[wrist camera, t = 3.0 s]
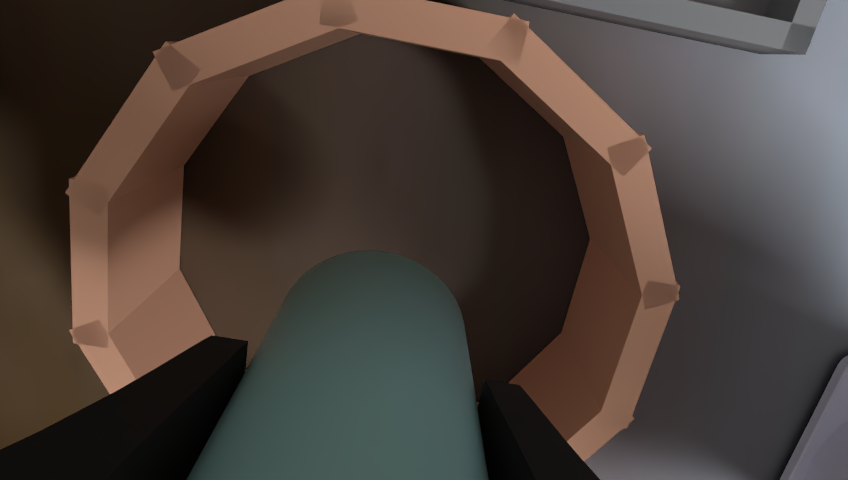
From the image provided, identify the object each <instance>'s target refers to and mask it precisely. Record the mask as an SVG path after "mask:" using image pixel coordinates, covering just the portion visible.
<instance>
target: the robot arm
mask: <svg viewBox="0 0 848 480" xmlns="http://www.w3.org/2000/svg"><path fill="white" fill-rule="evenodd" d="M247 346H248V341H243V340H237V339H231V338H225V337H219V336H212V335H211V336H209V337H207V338H206V339H204V340H202V341H200V342H199V343H197V344H195V345H193V346H192V347H190V348H188V349H187V350H185V351H183V352H182V353H180V354H178V355H177V356H175V357H174V358H172V359H170V360H169V361H167V362H165V363H164V364H162V365H160V366H159V367H157V368H155V369H153V370H152V371H150V372H148V373H147V374H145V375H143V376H141V377H140V378H138V379H136V380H134V381H133V382H131V383H129V384H128V385H126V386H124V387H122V388H121V389H119V390H117V391H115V392H114V393H112V394H110V395H108V396H106V397H104V398H103V399H101V400H99V401H97V402H95V403H93V404H91V405H89V406H87V407H85V408H83V409H81V410H80V411H78V412H76V413H74V414H72V415H70V416H68V417H66V418H64V419H62V420H60V421H59V422H57V423H55V424H53V425H51V426H49V427H47V428H45V429H43V430H41V431H39V432H37V433H35V434H33V435H31V436H29V437H27V438H25V439H23V440H20V441H18V442H16V443H14V444H12V445H10V446H7V447H5V448H3V449H1V450H0V480H187V478H188V476H189V474H190V472H191V470H192V469H193V467H194V465H195V463H196V461H197V459H198V458H199V456H200V454H201V452H202V450H203V448H204V447H205V445H206V443H207V441H208V439H209V437H210V436H211V434H212V432H213V430H214V428H215V427H216V425H217V423H218V421H219V419H220V417H221V416H222V414H223V412H224V410H225V408H226V406H227V405H228V403H229V401H230V399H231V397H232V395H233V394H234V392H235V390H236V388H237V386H238V384H239V383H240V381H241V379H242V377H243V375H244V373H245V367H246V357H247ZM478 414H479V420H480V427H481V433H482V439H483V446H484V452H485V458H486V465H487V471H488V477H489V480H600V479H599V478H598V477H597V476H596V475H595V474H594V473H593V471H592V470H591V469H590V468H589V467H588V466H587V465H586V463H585V462H584V461H583V460H582V459H581V458H580V456H579V455H578V454H577V453H576V452H575V451H574V450H573V448H572V447H571V446H570V445H569V444H568V442H567V441H566V440H565V439H564V438H563V436H562V435H561V434H560V433H559V432H558V430H557V429H556V428H555V427H554V426H553V424H552V423H551V422H550V421H549V419H548V418H547V417H546V416H545V415H544V413H543V412H542V411H541V410H540V408H539V407H538V406H537V405H536V404H535V402H534V401H533V400H532V399H531V398H530V396H529V395H528V394H527V393H526V392H525V391H524V389H523V388H522V387H521V386H520V385H516V384H510V383H504V382H498V381H492V380H485V381H484V385H483V389H482V393H481V396H480V400H479V404H478ZM780 480H848V356H846V357H844V358H843V359H842V360H841V361H840V362H839V364H838V365H837V367H836V369H835V371H834V373H833V375H832V377H831V379H830V381H829V383H828V385H827V387H826V389H825V391H824V393H823V395H822V397H821V399H820V401H819V403H818V405H817V407H816V409H815V411H814V413H813V415H812V417H811V419H810V421H809V423H808V425H807V426H806V428H805V430H804V432H803V434H802V436H801V438H800V440H799V442H798V444H797V446H796V448H795V450H794V452H793V454H792V456H791V458H790V460H789V462H788V464H787V466H786V468H785V470H784V472H783V474H782V476H781V478H780Z"/></svg>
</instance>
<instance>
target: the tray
mask: <svg viewBox="0 0 848 480" xmlns="http://www.w3.org/2000/svg"><path fill="white" fill-rule="evenodd" d="M505 1H510V2H515V3H519V4H524V5H529V6H534V7H538V8H543V9H548V10H553V11H557V12H562V13H567V14H572V15H577V16H581V17H586V18H591V19H596V20H600V21H605V22H610V23H615V24H620V25H624V26H629V27H634V28H639V29H643V30H648V31H653V32H658V33H662V34H667V35H672V36H677V37H682V38H686V39H691V40H696V41H701V42H705V43H710V44H715V45H720V46H724V47H729V48H734V49H739V50H744V51H748V52H753V53H758V54H806V52H807V49H808V47H809V44H810V41H811V39H812V36H813V34H814V31H815V29H816V26H817V24H818V21H819V19H820V16H821V14H822V11H823V9H824V6H825V4H826V1H827V0H505Z"/></svg>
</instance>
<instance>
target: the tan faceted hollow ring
mask: <svg viewBox="0 0 848 480" xmlns="http://www.w3.org/2000/svg"><path fill="white" fill-rule="evenodd" d="M358 34H363V35H368V36H373V37H378V38H383V39H388V40H393V41H398V42H403V43H408V44H413V45H418V46H423V47H428V48H433V49H438V50H443V51H448V52H453V53H458V54H463V55H468V56H472V57H477V58H480V59H481V60H482V61H483V62H484V63H485V64H486V65H487V66H488V67H489V68H491V69H492V70H493V71H494V72H495V73H496V74H497V75H498V76H499V77H500V78H501V79H502V80H503V81H504V82H506V83H507V84H508V85H509V86H510V87H511V88H512V89H513V90H514V91H515V92H516V93H517V94H518V95H519V96H520V97H522V98H523V99H524V100H525V101H526V102H527V103H528V104H529V105H530V106H531V107H532V108H533V109H534V110H535V111H536V112H538V113H539V114H540V115H541V116H542V117H543V118H544V119H545V120H546V121H547V122H548V123H549V124H550V125H551V126H553V127H554V128H555V129H556V130H557V131H558V132H559V133H560V134H561V135H562V136H563V137H564V141H565V145H566V149H567V152H568V156H569V160H570V164H571V168H572V172H573V175H574V179H575V183H576V187H577V191H578V194H579V198H580V202H581V206H582V210H583V213H584V217H585V221H586V225H587V229H588V233H589V236H590V241H589V244H588V247H587V250H586V254H585V257H584V260H583V263H582V267H581V270H580V273H579V276H578V280H577V283H576V286H575V289H574V293H573V296H572V299H571V303H570V306H569V309H568V312H567V316H566V319H565V322H564V325H563V329H562V332H561V333H560V334H559V335H558V336H557V337H556V338H555V339H554V340H553V341H552V342H551V343H550V344H549V345H548V346H546V347H545V348H544V349H543V350H542V351H541V352H540V353H539V354H538V355H537V356H536V357H535V358H534V359H533V360H532V361H531V362H530V363H528V364H527V365H526V366H525V367H524V368H523V369H522V370H521V371H520V372H519V373H518V374H517V375H516V376H515V377H514V378H513V379H512V380H510V381H509V382H508V383H510V384H516V385H520V386H521V387H522V388H523V389H524V391H525V392H526V393H527V394H528V395H529V396H530V398H531V399H532V400H533V401H534V402H535V404H536V405H537V406H538V407H539V408H540V410H541V411H542V412H543V413H544V415H545V416H546V417H547V418H548V419H549V421H550V422H551V423H552V424H553V426H554V427H555V428H556V429H557V430H558V432H559V433H560V434H561V435H562V436H563V438H564V439H565V440H566V441H567V442H568V444H569V445H570V446H571V447H572V448H573V450H574V451H575V452H576V453H577V454H578V455H579V456H580V458H581V459H582V460H583V461H585V460H587V459H588V458H589V457H590V456H591V455H592V454H594V453H595V452H596V451H597V450H598V449H600V448H601V447H602V446H603V445H604V444H605V443H607V442H608V441H609V440H610V439H611V438H612V437H614V436H615V435H616V434H617V433H618V432H619V431H621V430H622V429H623V428H624V429H627V428H628V425H629V423H630V422H631V421H632V420H634V419H635V418H634V417H633V412H634V409H635V407H636V404H637V401H638V399H639V396H640V393H641V391H642V388H643V385H644V383H645V380H646V377H647V375H648V372H649V369H650V367H651V364H652V361H653V359H654V356H655V353H656V351H657V348H658V345H659V343H660V340H661V338H662V335H663V332H664V330H665V327H666V324H667V322H668V319H669V316H670V314H671V311H672V308H673V306H674V303H675V301H677V300H680V299H679V294H678V292H679V290H680V287H681V286H680V285H679V284H678V283H677V282H676V280H675V276H674V271H673V266H672V261H671V257H670V252H669V247H668V243H667V238H666V233H665V228H664V224H663V219H662V214H661V210H660V205H659V200H658V196H657V191H656V186H655V181H654V177H653V172H652V167H651V163H650V158H649V153H648V152H649V151H650V150H651V149H652V148H651V147H650V146H649V145H648V144H647V143H646V139H645V135H644V134H641V133H639V132H636V131H634V130H633V129H632V128H631V127H630V126H629V125H628V124H627V123H626V122H624V121H623V120H622V119H621V118H620V117H619V116H618V115H617V114H616V113H615V112H614V111H613V110H612V109H611V108H610V107H609V106H608V105H607V104H606V103H605V102H604V101H603V100H602V99H601V98H600V97H599V96H598V95H597V94H596V93H595V92H594V91H593V90H592V89H591V88H590V87H589V86H588V85H587V84H586V83H585V82H584V81H583V80H582V79H581V78H580V77H579V76H578V75H577V74H576V73H574V72H573V71H572V70H571V69H570V68H569V67H568V66H567V65H566V64H565V63H564V62H563V61H562V60H561V59H560V58H559V57H558V56H557V55H556V54H555V53H554V52H553V51H552V50H551V49H550V48H549V47H548V46H547V45H546V44H545V43H544V42H543V41H542V40H541V39H540V38H539V37H538V36H537V35H536V34H535V33H534V32H533V31H532V30H531V29H530V28H529V21H524V20H520V19H519V18H518V17H517V16H516V15H515V14H511V15H509V16H506V17H505V16H500V15H495V14H490V13H485V12H480V11H476V10H471V9H466V8H461V7H456V6H452V5H447V4H442V3H437V2H432V1H427V0H284V1H281V2H279V3H276V4H273V5H271V6H268V7H266V8H263V9H261V10H258V11H256V12H253V13H250V14H248V15H245V16H243V17H240V18H238V19H235V20H233V21H230V22H227V23H225V24H222V25H220V26H217V27H215V28H212V29H209V30H207V31H204V32H202V33H199V34H197V35H194V36H192V37H189V38H186V39H184V40H181V41H179V42H173V41H165V43H164V44H163V46H162V47H161V49H158V50H156V51H153V53H154V55H155V58H154V60H153V61H152V63H151V64H150V66H149V67H148V69H147V70H146V72H145V73H144V75H143V76H142V78H141V79H140V81H139V82H138V84H137V85H136V87H135V88H134V90H133V91H132V93H131V94H130V96H129V97H128V99H127V100H126V102H125V103H124V105H123V106H122V108H121V109H120V111H119V112H118V114H117V115H116V117H115V118H114V120H113V121H112V123H111V124H110V126H109V127H108V129H107V130H106V132H105V133H104V135H103V136H102V138H101V139H100V141H99V142H98V144H97V145H96V147H95V148H94V150H93V151H92V153H91V154H90V156H89V157H88V159H87V160H86V162H85V163H84V165H83V166H82V168H81V169H80V171H79V172H78V174H77V175H76V176H75V177H72V178H69V187H68V189H67V190H66V192H65V193H66V194H67V195H69V204H70V242H71V281H72V319H73V327H72V328H71V329H69V331H70V333H71V334H72V336H73V343H77V344H78V345H79V347H80V348H81V350H82V351H83V353H84V354H85V356H86V358H87V359H88V361H89V362H90V364H91V365H92V367H93V368H94V370H95V372H96V373H97V375H98V376H99V378H100V379H101V381H102V383H103V384H104V386H105V387H106V389H107V390H108V392H109V394H112V393H114V392H115V391H117V390H119V389H121V388H122V387H124V386H126V385H128V384H129V383H131V382H133V381H134V380H136V379H138V378H140V377H141V376H143V375H145V374H147V373H148V372H150V371H152V370H153V369H155V368H157V367H159V366H160V365H162V364H164V363H165V362H167V361H169V360H170V359H172V358H174V357H175V356H177V355H178V354H180V353H182V352H183V351H185V350H187V349H188V348H190V347H192V346H193V345H195V344H197V343H199V342H200V341H202V340H204V339H206V338H207V337H209V336H211V335H212V336H215V334H214V332H213V330H212V328H211V326H210V325H209V323H208V321H207V319H206V317H205V315H204V313H203V312H202V310H201V308H200V306H199V304H198V302H197V300H196V299H195V297H194V295H193V293H192V291H191V289H190V288H189V286H188V284H187V282H186V280H185V278H184V276H183V275H182V273H181V271H180V269H179V265H180V243H181V220H182V198H183V176H184V165H185V163H186V162H187V161H188V159H189V158H190V157H191V155H192V154H193V152H194V151H195V150H196V148H197V147H198V145H199V144H200V143H201V141H202V140H203V139H204V137H205V136H206V134H207V133H208V132H209V130H210V129H211V128H212V126H213V125H214V123H215V122H216V121H217V119H218V118H219V116H220V115H221V114H222V112H223V111H224V110H225V108H226V107H227V105H228V104H229V103H230V101H231V100H232V99H233V97H234V96H235V94H236V93H237V92H238V90H239V89H240V88H241V86H242V85H243V83H244V82H245V81H246V79H247V78H248V76H250V75H253V74H255V73H258V72H261V71H263V70H266V69H269V68H271V67H274V66H277V65H279V64H282V63H284V62H287V61H290V60H292V59H295V58H298V57H300V56H303V55H306V54H308V53H311V52H314V51H316V50H319V49H321V48H324V47H327V46H329V45H332V44H335V43H337V42H340V41H343V40H345V39H348V38H351V37H353V36H356V35H358ZM245 372H246V369H245ZM478 404H479V402H477V408H478Z"/></svg>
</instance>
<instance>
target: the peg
mask: <svg viewBox="0 0 848 480" xmlns="http://www.w3.org/2000/svg"><path fill="white" fill-rule="evenodd" d="M187 480H489V477H488V471H487V465H486V458H485V452H484V446H483V439H482V433H481V427H480V420H479V414H478V408H477V402H476V395H475V389H474V383H473V376H472V370H471V364H470V357H469V351H468V345H467V339H466V332H465V326H464V320H463V317H462V313H461V310H460V308H459V305H458V303H457V301H456V299H455V297H454V296H453V294H452V293H451V291H450V290H449V288H448V287H447V286H446V285H445V284H444V282H443V281H442V280H441V279H440V278H439V277H437V276H436V275H435V274H434V273H433V272H432V271H430V270H429V269H427V268H426V267H424V266H423V265H421V264H419V263H417V262H415V261H413V260H412V259H409V258H406V257H403V256H401V255H397V254H393V253H389V252H382V251H356V252H348V253H345V254H341V255H337V256H334V257H332V258H329V259H327V260H324V261H323V262H321V263H319V264H317V265H316V266H314V267H313V268H311V269H310V270H309V271H307V272H306V273H305V274H304V275H303V276H302V277H301V278H300V279H299V280H298V281H297V282H296V283H295V284H294V286H293V287H292V288H291V290H290V291H289V293H288V295H287V297H286V298H285V300H284V302H283V304H282V306H281V307H280V309H279V311H278V313H277V315H276V317H275V318H274V320H273V322H272V324H271V326H270V328H269V329H268V331H267V333H266V335H265V337H264V339H263V340H262V342H261V344H260V346H259V348H258V350H257V351H256V353H255V355H254V357H253V359H252V361H251V362H250V364H249V366H248V368H247V370H246V372H245V373H244V375H243V377H242V379H241V381H240V383H239V384H238V386H237V388H236V390H235V392H234V394H233V395H232V397H231V399H230V401H229V403H228V405H227V406H226V408H225V410H224V412H223V414H222V416H221V417H220V419H219V421H218V423H217V425H216V427H215V428H214V430H213V432H212V434H211V436H210V437H209V439H208V441H207V443H206V445H205V447H204V448H203V450H202V452H201V454H200V456H199V458H198V459H197V461H196V463H195V465H194V467H193V469H192V470H191V472H190V474H189V476H188V478H187Z"/></svg>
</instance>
